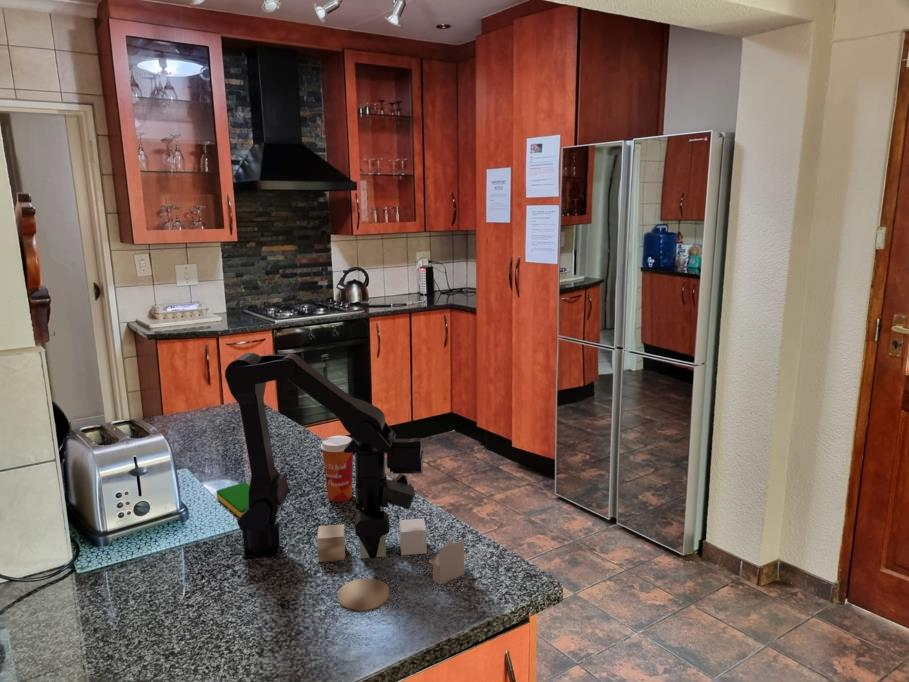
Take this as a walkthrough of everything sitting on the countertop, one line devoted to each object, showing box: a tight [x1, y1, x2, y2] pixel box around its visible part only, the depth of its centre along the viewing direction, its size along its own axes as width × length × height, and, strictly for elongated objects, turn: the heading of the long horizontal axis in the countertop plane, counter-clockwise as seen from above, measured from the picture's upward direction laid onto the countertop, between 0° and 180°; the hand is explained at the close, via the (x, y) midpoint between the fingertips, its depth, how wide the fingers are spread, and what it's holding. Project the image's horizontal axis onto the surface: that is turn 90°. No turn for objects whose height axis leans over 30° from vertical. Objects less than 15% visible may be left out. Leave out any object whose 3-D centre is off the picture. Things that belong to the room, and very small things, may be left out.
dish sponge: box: [216, 481, 250, 518], centre depth 151 cm, size 7×14×2 cm, turn 41°
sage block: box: [359, 535, 387, 560], centre depth 130 cm, size 5×5×5 cm
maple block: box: [316, 523, 346, 563], centre depth 129 cm, size 5×5×5 cm
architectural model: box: [428, 539, 469, 585], centre depth 121 cm, size 3×7×7 cm, turn 127°
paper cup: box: [320, 435, 354, 503], centre depth 153 cm, size 8×8×14 cm
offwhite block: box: [398, 517, 428, 556], centre depth 131 cm, size 5×5×5 cm
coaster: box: [337, 577, 390, 612], centre depth 115 cm, size 9×9×1 cm
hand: (372, 546), depth 130 cm, fingers open, 9 cm apart
